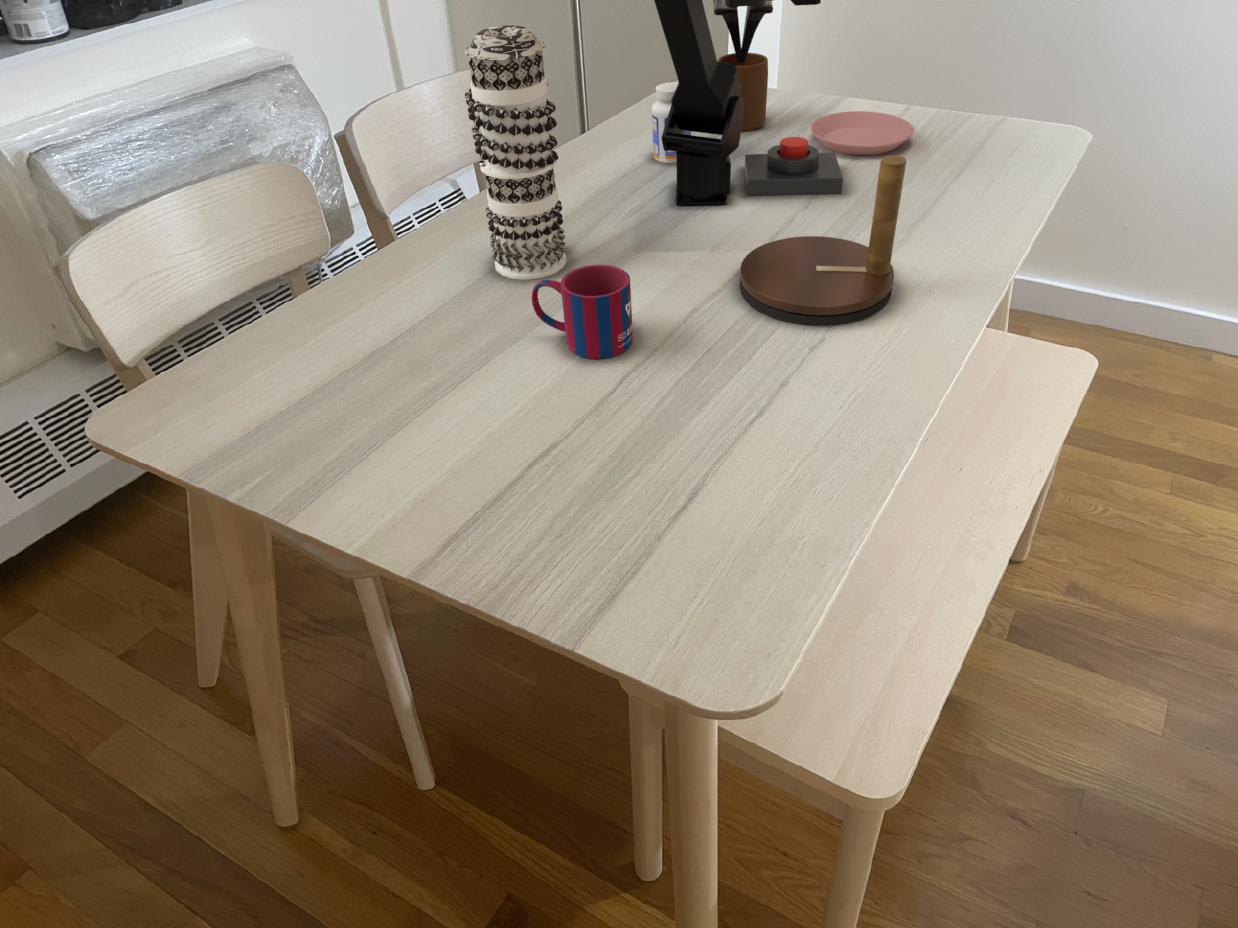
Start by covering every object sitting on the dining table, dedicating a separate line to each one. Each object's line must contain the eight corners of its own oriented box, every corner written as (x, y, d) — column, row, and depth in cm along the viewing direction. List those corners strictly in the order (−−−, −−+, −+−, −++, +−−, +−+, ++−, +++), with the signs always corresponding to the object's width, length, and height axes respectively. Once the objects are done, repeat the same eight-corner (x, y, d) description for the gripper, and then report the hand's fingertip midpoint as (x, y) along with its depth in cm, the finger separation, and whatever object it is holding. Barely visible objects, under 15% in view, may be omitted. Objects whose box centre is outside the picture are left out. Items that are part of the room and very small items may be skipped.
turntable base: (743, 326, 90) (743, 318, 90) (736, 255, 103) (737, 247, 102) (903, 325, 89) (905, 316, 88) (878, 252, 101) (879, 244, 101)
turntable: (736, 312, 90) (740, 191, 82) (743, 242, 102) (748, 130, 94) (899, 318, 88) (920, 193, 80) (886, 245, 100) (904, 130, 92)
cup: (618, 364, 86) (614, 301, 82) (526, 348, 89) (517, 287, 85) (642, 329, 91) (640, 268, 87) (554, 315, 94) (547, 256, 90)
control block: (747, 196, 115) (748, 166, 113) (744, 170, 122) (745, 140, 119) (841, 194, 114) (844, 163, 112) (832, 167, 121) (836, 138, 119)
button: (780, 160, 115) (781, 146, 113) (778, 150, 117) (779, 136, 116) (808, 159, 114) (809, 146, 113) (805, 149, 117) (807, 136, 116)
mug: (732, 145, 129) (734, 77, 123) (689, 136, 133) (689, 70, 127) (774, 120, 136) (778, 55, 130) (732, 112, 140) (734, 49, 134)
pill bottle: (697, 153, 128) (698, 82, 121) (679, 166, 124) (678, 94, 118) (665, 147, 130) (663, 78, 124) (646, 160, 127) (643, 89, 120)
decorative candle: (482, 254, 106) (446, 27, 90) (555, 239, 108) (533, 15, 92) (502, 288, 99) (467, 49, 83) (580, 270, 102) (560, 35, 86)
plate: (790, 147, 128) (791, 133, 126) (841, 118, 136) (842, 104, 134) (881, 167, 120) (883, 153, 119) (929, 136, 128) (931, 122, 127)
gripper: (665, -59, 101) (667, 84, 111) (832, -67, 99) (819, 79, 109) (668, -76, 110) (670, 58, 120) (822, -83, 108) (811, 54, 118)
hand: (741, 63), depth 116 cm, fingers closed
